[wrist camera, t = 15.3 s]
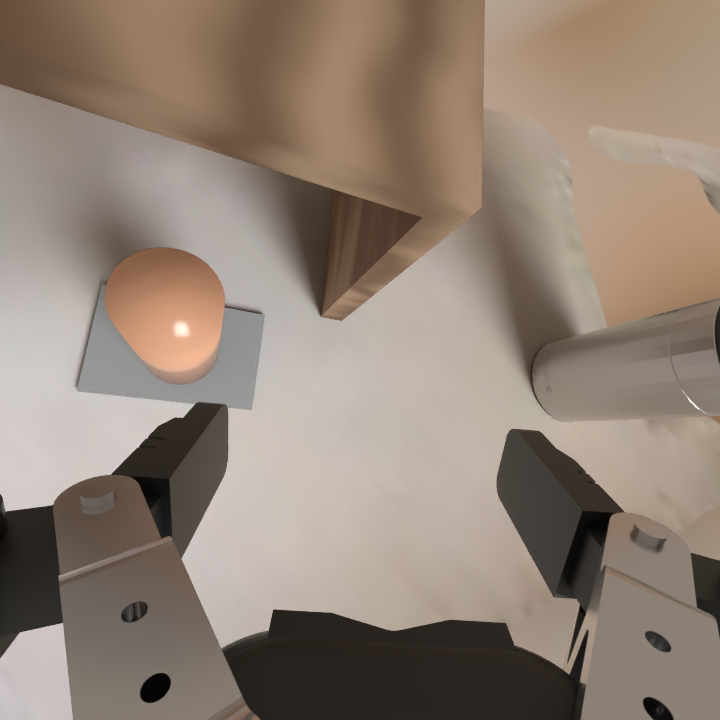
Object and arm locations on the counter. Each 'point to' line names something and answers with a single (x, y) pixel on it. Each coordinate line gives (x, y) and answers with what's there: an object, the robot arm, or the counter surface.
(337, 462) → the counter surface
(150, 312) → the peach cylinder
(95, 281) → the counter surface
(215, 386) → the slate mat
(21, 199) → the counter surface
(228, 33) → the walnut shelf
